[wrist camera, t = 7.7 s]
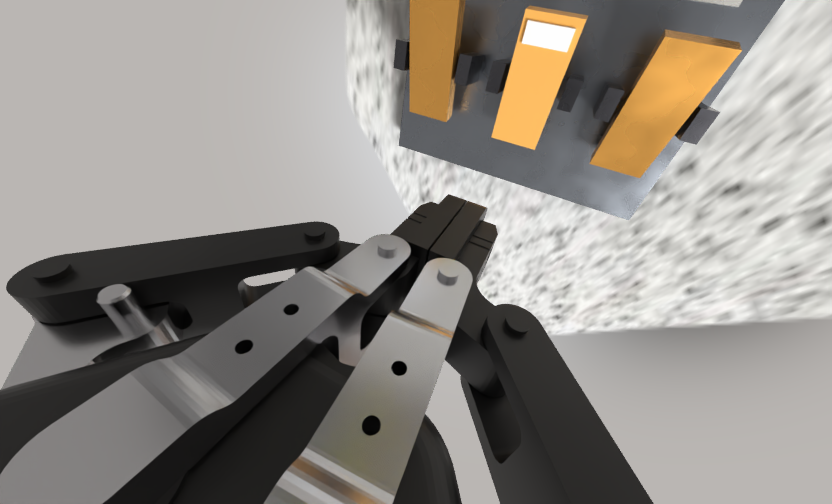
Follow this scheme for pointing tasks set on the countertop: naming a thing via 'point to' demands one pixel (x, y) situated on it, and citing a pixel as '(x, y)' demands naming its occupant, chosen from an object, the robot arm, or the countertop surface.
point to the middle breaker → (536, 73)
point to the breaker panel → (575, 89)
